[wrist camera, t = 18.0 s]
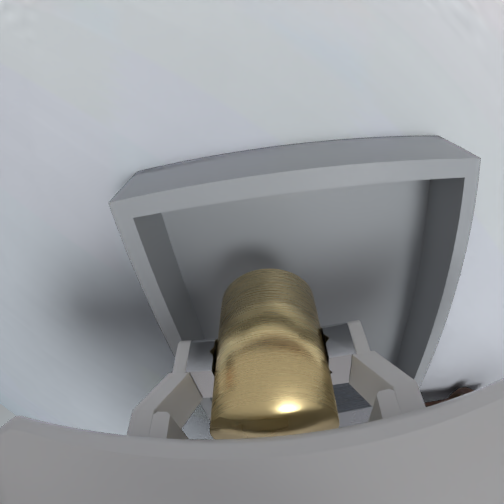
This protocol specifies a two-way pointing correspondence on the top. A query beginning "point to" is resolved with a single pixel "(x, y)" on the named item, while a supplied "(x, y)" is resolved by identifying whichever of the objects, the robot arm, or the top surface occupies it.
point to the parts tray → (309, 235)
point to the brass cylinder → (270, 360)
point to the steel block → (351, 406)
